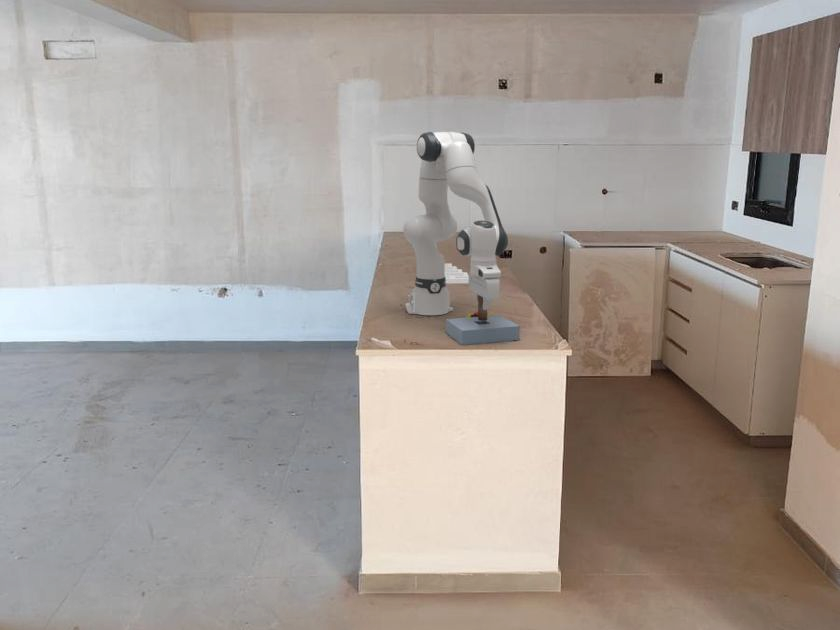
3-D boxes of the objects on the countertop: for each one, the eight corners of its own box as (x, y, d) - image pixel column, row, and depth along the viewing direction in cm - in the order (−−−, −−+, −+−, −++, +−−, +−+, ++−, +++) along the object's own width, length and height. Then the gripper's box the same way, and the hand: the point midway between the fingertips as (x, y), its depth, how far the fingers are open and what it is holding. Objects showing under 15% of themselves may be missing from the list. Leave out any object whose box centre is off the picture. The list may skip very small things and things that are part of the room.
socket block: (445, 332, 264) (445, 319, 263) (500, 328, 270) (500, 315, 268) (461, 345, 248) (462, 330, 247) (519, 340, 254) (519, 326, 253)
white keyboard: (434, 268, 398) (434, 263, 397) (468, 268, 398) (468, 263, 397) (436, 284, 354) (436, 278, 353) (473, 284, 354) (474, 279, 353)
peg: (476, 318, 258) (476, 293, 256) (485, 318, 259) (485, 293, 257) (480, 320, 255) (480, 295, 253) (488, 320, 256) (488, 294, 254)
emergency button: (492, 309, 282) (489, 319, 267) (492, 321, 283) (489, 330, 268) (468, 309, 283) (463, 318, 269) (468, 320, 284) (463, 329, 270)
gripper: (464, 264, 262) (463, 302, 265) (485, 274, 243) (484, 315, 246) (480, 263, 264) (480, 301, 267) (503, 273, 245) (502, 313, 248)
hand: (482, 308), depth 256 cm, fingers closed on peg, 3 cm apart
